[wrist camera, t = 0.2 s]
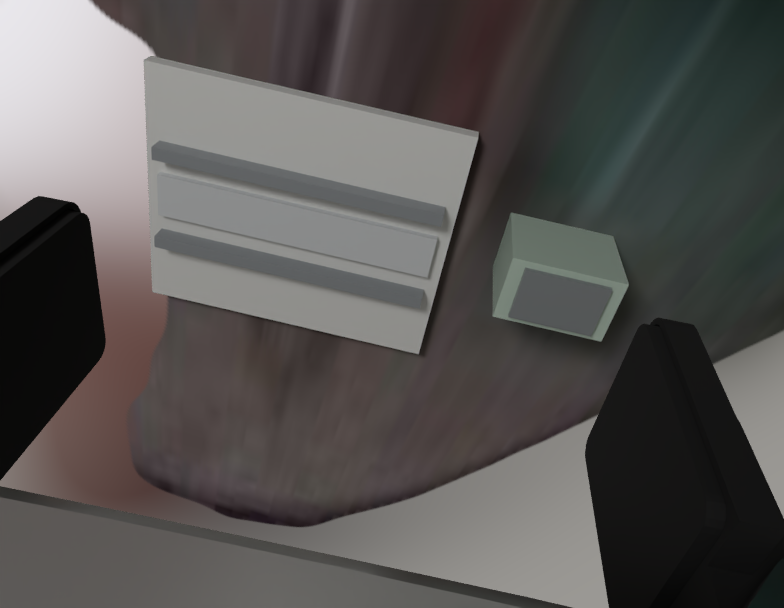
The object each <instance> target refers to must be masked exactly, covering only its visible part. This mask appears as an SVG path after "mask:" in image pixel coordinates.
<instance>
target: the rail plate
mask: <svg viewBox="0 0 784 608" xmlns="http://www.w3.org/2000/svg"><path fill="white" fill-rule="evenodd" d="M144 80H145V106H146V132H147V133H146V134H147V159H148V160H147V161H148V184H149V185H148V186H149V188H148V189H149V215H150V241H151V242H150V243H151V269H152V292H155V293H159V294H164V295H168V296H172V297H176V298H181V299H185V300H189V301H193V302H198V303H202V304H206V305H210V306H215V307H219V308H223V309H227V310H232V311H236V312H240V313H245V314H249V315H253V316H257V317H262V318H266V319H270V320H274V321H279V322H283V323H287V324H292V325H296V326H300V327H304V328H309V329H313V330H317V331H321V332H326V333H330V334H334V335H339V336H343V337H347V338H351V339H356V340H360V341H364V342H368V343H373V344H377V345H381V346H385V347H390V348H394V349H398V350H403V351H407V352H411V353H415V354H419V351H420V347H421V344H422V340H423V337H424V333H425V329H426V326H427V322H428V318H429V315H430V311H431V308H432V304H433V300H434V297H435V293H436V289H437V286H438V282H439V279H440V275H441V271H442V268H443V264H444V260H445V257H446V253H447V250H448V246H449V242H450V239H451V235H452V232H453V228H454V224H455V221H456V217H457V213H458V210H459V206H460V203H461V199H462V195H463V192H464V188H465V184H466V181H467V177H468V174H469V170H470V166H471V163H472V159H473V156H474V152H475V148H476V145H477V141H478V136H479V132H476V131H472V130H468V129H463V128H459V127H455V126H450V125H446V124H442V123H437V122H433V121H429V120H425V119H420V118H416V117H412V116H407V115H403V114H399V113H395V112H390V111H386V110H382V109H377V108H373V107H369V106H364V105H360V104H356V103H352V102H347V101H343V100H339V99H334V98H330V97H326V96H321V95H317V94H313V93H309V92H304V91H300V90H296V89H291V88H287V87H283V86H278V85H274V84H270V83H266V82H261V81H257V80H253V79H248V78H244V77H240V76H235V75H231V74H227V73H223V72H218V71H214V70H210V69H205V68H201V67H197V66H193V65H188V64H184V63H180V62H175V61H171V60H167V59H162V58H158V57H154V56H150V57H148V58H147V59H145V60H144Z"/></svg>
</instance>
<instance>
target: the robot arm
mask: <svg viewBox="0 0 784 608" xmlns="http://www.w3.org/2000/svg"><path fill="white" fill-rule="evenodd" d="M104 349H105V331H104V324H103V316H102V309H101V301H100V294H99V287H98V279H97V272H96V264H95V257H94V249H93V242H92V235H91V227H90V221H89V218H88V217H87V215H86V214H84V213H81V211H80V209H79V207H78V206H77V205H76V204H75V203H73V202H68V201H63V200H57V199H53V198H47V197H41V196H38V197H36V198H33V199H32V200H30V201H29V202H28V203H26V204H25V205H23V206H22V207H20V208H19V209H17V210H16V211H14V212H13V213H12V214H10V215H9V216H7V217H6V218H4V219H3V220H1V221H0V480H1V479H2V478H3V477H4V475H5V474H6V473H7V472H8V470H9V469H10V468H11V467H12V466H13V464H14V463H15V462H16V461H17V460H18V458H19V457H20V456H21V455H22V453H23V452H24V451H25V450H26V448H27V447H28V446H29V445H30V444H31V442H32V441H33V440H34V439H35V438H36V436H37V435H38V434H39V433H40V432H41V430H42V429H43V428H44V427H45V426H46V424H47V423H48V422H49V421H50V419H51V418H52V417H53V416H54V415H55V413H56V412H57V411H58V410H59V409H60V407H61V406H62V405H63V404H64V402H65V401H66V400H67V398H68V397H69V396H70V395H71V394H72V393H73V391H74V390H75V389H76V388H77V387H78V385H79V384H80V383H81V382H82V380H83V379H84V378H85V377H86V376H87V374H88V373H89V372H90V371H91V370H92V368H93V367H94V366H95V365H96V363H97V362H98V361H99V360H100V358H101V356H102V354H103V352H104ZM585 458H586V465H587V472H588V477H589V484H590V490H591V497H592V503H593V509H594V516H595V522H596V528H597V535H598V541H599V547H600V553H601V560H602V565H603V572H604V578H605V585H606V591H607V598H608V604H609V608H784V519H783V516H782V514H781V512H780V510H779V507H778V505H777V503H776V501H775V499H774V496H773V494H772V492H771V490H770V488H769V485H768V483H767V481H766V479H765V477H764V474H763V472H762V470H761V468H760V466H759V463H758V461H757V459H756V457H755V455H754V452H753V450H752V448H751V446H750V444H749V441H748V439H747V437H746V435H745V433H744V430H743V428H742V426H741V424H740V422H739V421H738V419H737V417H736V415H735V413H734V411H733V409H732V406H731V404H730V402H729V400H728V397H727V395H726V393H725V391H724V389H723V386H722V384H721V382H720V380H719V378H718V376H717V373H716V371H715V369H714V367H713V364H712V362H711V360H710V358H709V355H708V353H707V351H706V349H705V347H704V344H703V342H702V340H701V338H700V336H699V333H698V331H697V329H696V328H695V326H694V325H692V324H688V323H683V322H678V321H673V320H667V319H662V318H656V319H654V320H653V321H652V322H651V324H650V325H648V324H642V325H641V326H640V327H639V328H638V330H637V332H636V334H635V336H634V338H633V340H632V343H631V345H630V347H629V349H628V351H627V354H626V356H625V358H624V360H623V362H622V364H621V367H620V369H619V371H618V373H617V375H616V378H615V380H614V382H613V384H612V386H611V389H610V391H609V393H608V395H607V397H606V399H605V402H604V404H603V406H602V408H601V410H600V413H599V415H598V417H597V419H596V421H595V424H594V426H593V428H592V430H591V432H590V435H589V437H588V440H587V444H586V451H585ZM0 608H571V607H567V606H563V605H559V604H554V603H550V602H546V601H542V600H537V599H533V598H528V597H524V596H520V595H515V594H510V593H506V592H501V591H496V590H492V589H487V588H482V587H478V586H473V585H469V584H464V583H459V582H455V581H450V580H445V579H441V578H436V577H431V576H427V575H422V574H417V573H413V572H408V571H403V570H399V569H394V568H390V567H385V566H380V565H376V564H371V563H366V562H362V561H357V560H352V559H348V558H343V557H338V556H334V555H329V554H324V553H319V552H315V551H310V550H305V549H300V548H296V547H291V546H286V545H281V544H277V543H272V542H267V541H262V540H258V539H253V538H248V537H244V536H239V535H234V534H229V533H224V532H219V531H214V530H210V529H205V528H200V527H195V526H191V525H186V524H181V523H177V522H172V521H167V520H162V519H157V518H152V517H147V516H143V515H138V514H133V513H128V512H124V511H119V510H113V509H109V508H104V507H99V506H94V505H89V504H84V503H79V502H74V501H70V500H65V499H60V498H55V497H50V496H45V495H40V494H35V493H30V492H26V491H21V490H16V489H11V488H6V487H1V486H0Z"/></svg>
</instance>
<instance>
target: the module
mask: <svg viewBox="0 0 784 608" xmlns="http://www.w3.org/2000/svg"><path fill="white" fill-rule="evenodd" d="M628 286H629V283H628V280H627V277H626V274H625V271H624V268H623V265H622V262H621V259H620V256H619V252H618V249H617V246H616V243H615V240H614V237H613V236H609V235H605V234H601V233H597V232H592V231H588V230H584V229H579V228H575V227H571V226H567V225H562V224H558V223H554V222H549V221H545V220H541V219H537V218H532V217H528V216H524V215H519V214H515V213H511V214H510V217H509V220H508V223H507V226H506V229H505V232H504V235H503V238H502V241H501V244H500V247H499V250H498V253H497V256H496V259H495V262H494V265H493V317H498V318H502V319H506V320H510V321H515V322H519V323H523V324H528V325H532V326H536V327H540V328H545V329H549V330H553V331H558V332H562V333H566V334H570V335H575V336H579V337H583V338H588V339H592V340H596V341H602V339H603V337H604V335H605V333H606V331H607V329H608V327H609V325H610V323H611V321H612V319H613V317H614V315H615V312H616V310H617V308H618V306H619V304H620V302H621V300H622V298H623V296H624V294H625V292H626V290H627V288H628Z"/></svg>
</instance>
